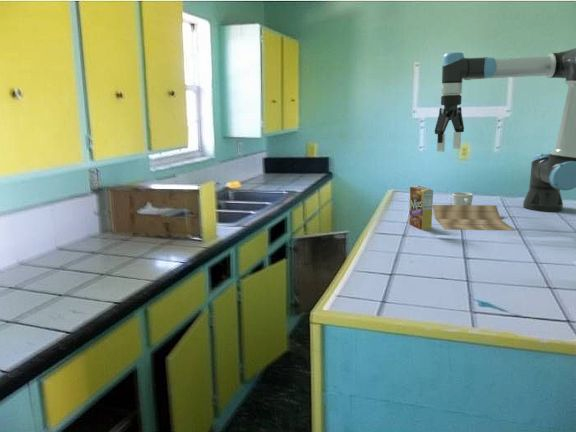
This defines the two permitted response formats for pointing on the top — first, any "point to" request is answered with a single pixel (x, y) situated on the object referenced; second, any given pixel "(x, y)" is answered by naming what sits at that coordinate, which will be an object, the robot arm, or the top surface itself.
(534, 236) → the top surface
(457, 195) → the cup
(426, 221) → the candy box
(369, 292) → the top surface
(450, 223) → the laid panel
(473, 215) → the plank
